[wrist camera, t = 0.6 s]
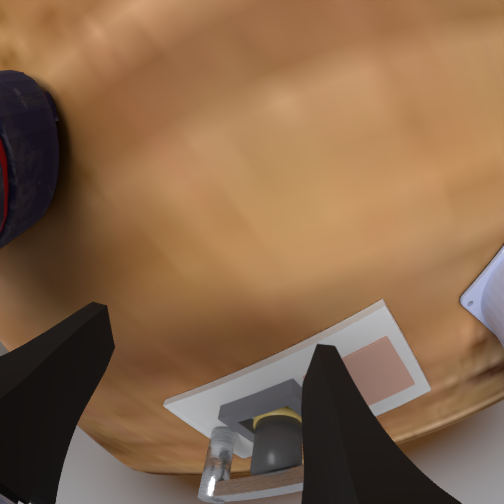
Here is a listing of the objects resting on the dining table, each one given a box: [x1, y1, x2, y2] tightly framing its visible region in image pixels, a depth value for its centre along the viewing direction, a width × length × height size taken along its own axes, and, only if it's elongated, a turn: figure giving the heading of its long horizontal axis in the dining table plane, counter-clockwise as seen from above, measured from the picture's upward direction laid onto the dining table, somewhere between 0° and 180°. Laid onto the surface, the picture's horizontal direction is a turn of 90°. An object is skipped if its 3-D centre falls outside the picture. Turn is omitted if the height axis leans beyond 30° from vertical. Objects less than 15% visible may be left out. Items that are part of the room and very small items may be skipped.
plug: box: [250, 406, 302, 476], centre depth 23 cm, size 4×4×6 cm
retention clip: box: [198, 428, 304, 504], centre depth 22 cm, size 13×2×8 cm, turn 128°
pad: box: [303, 336, 415, 406], centre depth 23 cm, size 7×7×1 cm
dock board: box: [163, 299, 431, 458], centre depth 25 cm, size 22×12×2 cm, turn 128°
